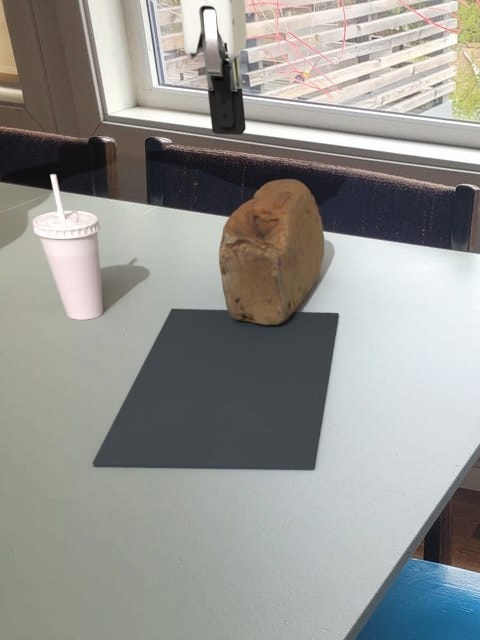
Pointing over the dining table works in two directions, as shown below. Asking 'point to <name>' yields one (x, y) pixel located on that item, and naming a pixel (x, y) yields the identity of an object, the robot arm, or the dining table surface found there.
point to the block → (271, 253)
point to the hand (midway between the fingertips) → (229, 131)
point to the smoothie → (72, 257)
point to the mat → (226, 394)
